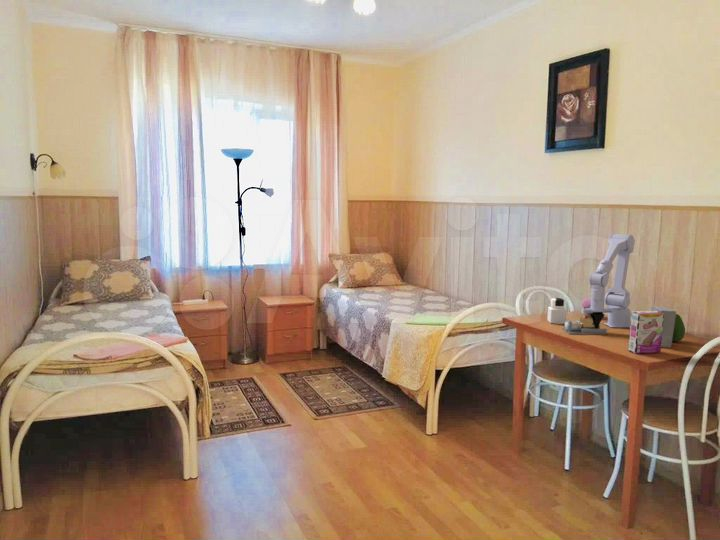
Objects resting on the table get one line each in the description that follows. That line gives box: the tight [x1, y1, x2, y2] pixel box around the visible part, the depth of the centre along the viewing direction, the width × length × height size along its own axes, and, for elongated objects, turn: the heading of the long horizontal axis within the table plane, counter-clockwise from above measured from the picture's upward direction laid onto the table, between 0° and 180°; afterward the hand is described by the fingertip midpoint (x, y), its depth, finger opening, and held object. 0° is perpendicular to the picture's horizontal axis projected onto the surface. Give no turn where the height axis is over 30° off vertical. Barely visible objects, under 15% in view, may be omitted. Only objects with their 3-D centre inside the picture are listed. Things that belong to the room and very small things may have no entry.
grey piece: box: [561, 318, 608, 335], centre depth 250 cm, size 17×10×5 cm, turn 90°
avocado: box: [672, 313, 686, 343], centre depth 233 cm, size 8×8×12 cm
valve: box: [579, 314, 595, 329], centre depth 250 cm, size 7×4×7 cm, turn 90°
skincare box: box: [650, 305, 677, 348], centre depth 227 cm, size 8×7×16 cm
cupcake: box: [581, 297, 591, 317], centre depth 281 cm, size 9×9×10 cm
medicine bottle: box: [546, 297, 567, 325], centre depth 268 cm, size 7×7×12 cm
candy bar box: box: [628, 310, 664, 355], centre depth 216 cm, size 11×5×16 cm, turn 99°
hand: (595, 328), depth 250 cm, fingers closed
